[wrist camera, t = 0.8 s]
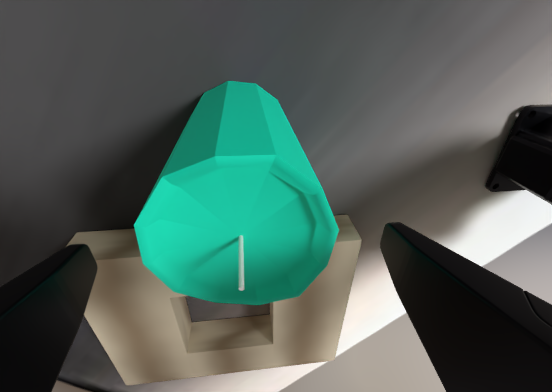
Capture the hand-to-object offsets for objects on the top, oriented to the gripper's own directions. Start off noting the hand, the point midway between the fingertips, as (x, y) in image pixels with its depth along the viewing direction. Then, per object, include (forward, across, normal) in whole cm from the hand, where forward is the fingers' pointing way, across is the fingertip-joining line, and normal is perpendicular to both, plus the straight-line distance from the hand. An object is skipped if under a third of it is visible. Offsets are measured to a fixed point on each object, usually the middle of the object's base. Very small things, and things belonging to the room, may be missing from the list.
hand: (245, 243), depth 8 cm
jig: (+10, +2, +15) cm, 18 cm away
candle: (+10, 0, 0) cm, 11 cm away
